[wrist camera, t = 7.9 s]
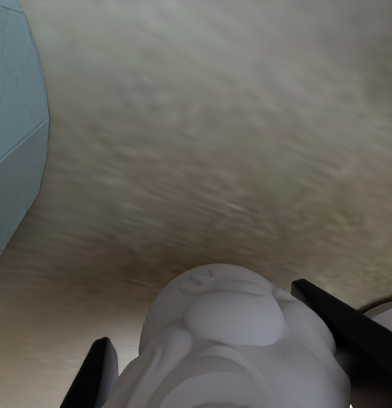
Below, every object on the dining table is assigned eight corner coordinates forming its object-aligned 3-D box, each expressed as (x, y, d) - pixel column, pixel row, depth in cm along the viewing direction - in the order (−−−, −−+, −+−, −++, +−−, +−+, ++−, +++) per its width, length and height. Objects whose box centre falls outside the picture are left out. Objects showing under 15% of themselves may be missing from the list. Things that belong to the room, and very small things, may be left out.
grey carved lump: (108, 208, 8) (62, 623, 2) (301, 228, 10) (543, 468, 4) (92, 342, 11) (51, 702, 5) (250, 336, 13) (357, 580, 7)
